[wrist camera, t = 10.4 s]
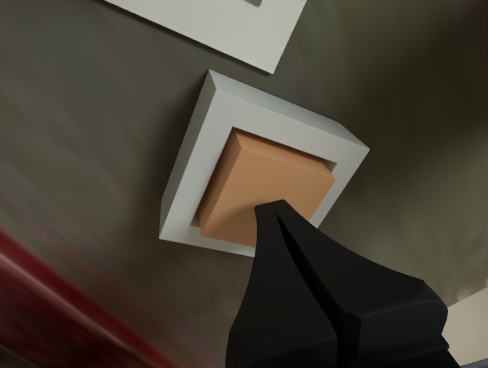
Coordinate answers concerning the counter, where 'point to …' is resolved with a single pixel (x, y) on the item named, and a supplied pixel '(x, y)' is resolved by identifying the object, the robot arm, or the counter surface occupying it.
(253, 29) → the picture board
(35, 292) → the counter surface
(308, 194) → the button
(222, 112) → the button housing
